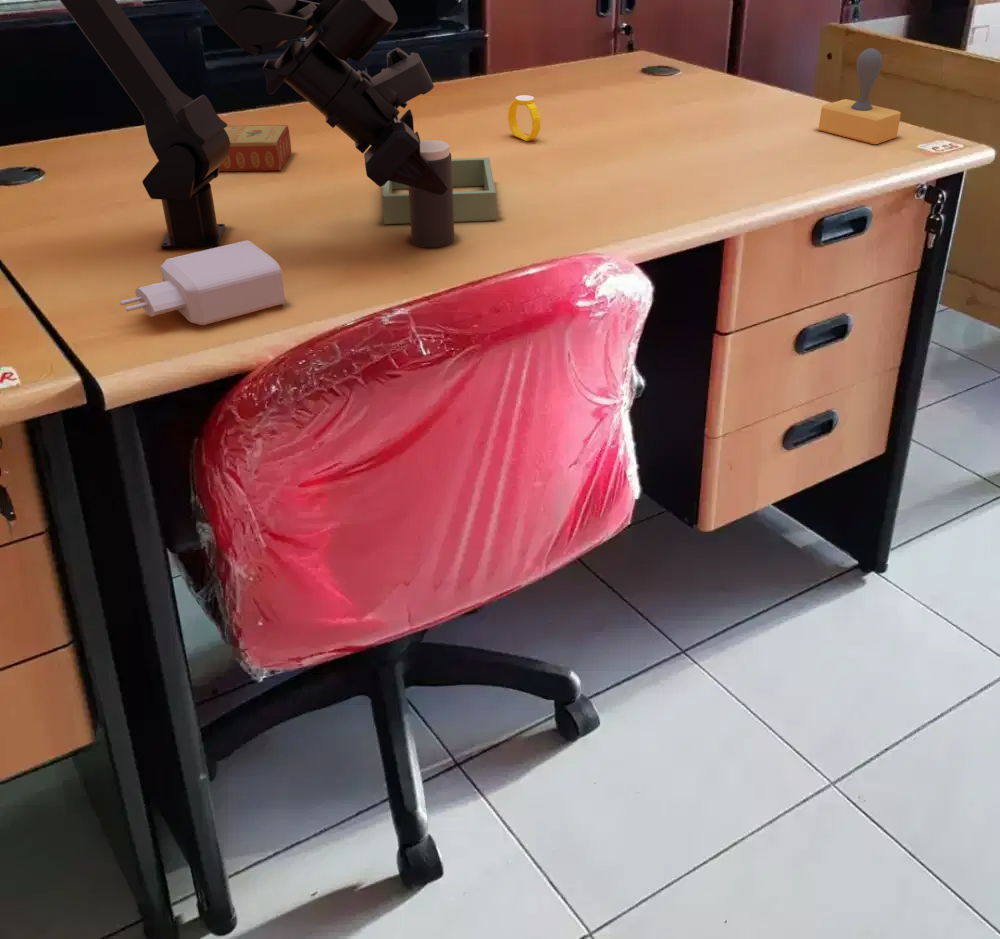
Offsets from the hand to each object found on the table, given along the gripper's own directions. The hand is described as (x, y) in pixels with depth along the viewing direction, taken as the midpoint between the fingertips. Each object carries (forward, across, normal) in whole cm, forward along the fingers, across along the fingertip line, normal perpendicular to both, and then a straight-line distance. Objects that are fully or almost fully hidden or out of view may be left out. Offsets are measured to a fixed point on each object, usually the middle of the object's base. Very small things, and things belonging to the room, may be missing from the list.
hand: (442, 183), depth 122 cm
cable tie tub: (+4, 0, +6) cm, 7 cm away
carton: (-14, +34, +24) cm, 44 cm away
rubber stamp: (+50, +30, -41) cm, 72 cm away
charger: (-14, -15, +24) cm, 31 cm away
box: (+5, +12, +4) cm, 14 cm away
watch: (+16, +38, -6) cm, 41 cm away
